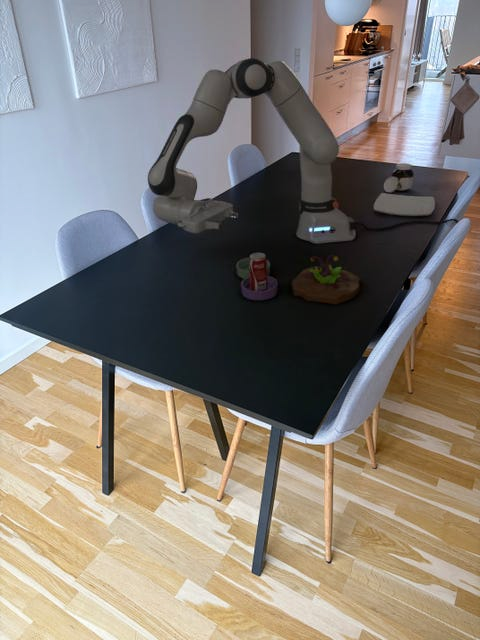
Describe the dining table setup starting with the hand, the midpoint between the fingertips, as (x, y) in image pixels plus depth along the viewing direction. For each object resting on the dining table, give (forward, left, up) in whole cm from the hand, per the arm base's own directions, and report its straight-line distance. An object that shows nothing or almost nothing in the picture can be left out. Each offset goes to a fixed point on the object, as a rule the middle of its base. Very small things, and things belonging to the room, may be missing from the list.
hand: (228, 220), depth 150 cm
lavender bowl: (-10, +15, -18) cm, 25 cm away
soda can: (-10, +15, -18) cm, 25 cm away
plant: (-30, +12, -18) cm, 37 cm away
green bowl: (-7, +1, -18) cm, 19 cm away
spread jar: (-71, -85, -18) cm, 112 cm away
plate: (-69, -60, -18) cm, 93 cm away
